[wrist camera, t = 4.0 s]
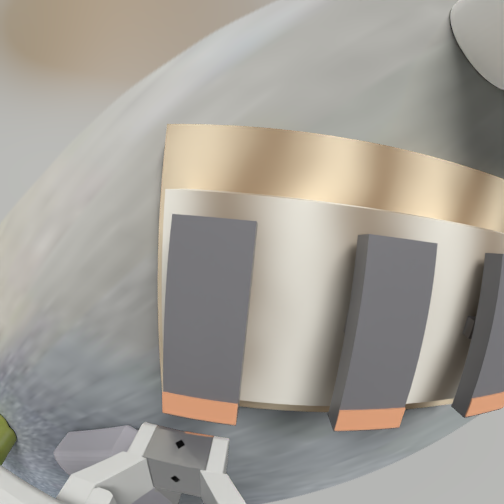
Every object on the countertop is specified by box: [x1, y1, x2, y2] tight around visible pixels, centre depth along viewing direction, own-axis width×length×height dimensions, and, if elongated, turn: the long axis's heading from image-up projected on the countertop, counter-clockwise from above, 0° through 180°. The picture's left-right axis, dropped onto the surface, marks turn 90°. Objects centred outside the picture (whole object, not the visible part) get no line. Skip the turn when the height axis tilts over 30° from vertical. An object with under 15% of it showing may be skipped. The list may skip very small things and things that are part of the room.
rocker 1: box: [162, 214, 258, 426], centre depth 11 cm, size 3×8×2 cm, turn 175°
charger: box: [54, 425, 182, 504], centre depth 20 cm, size 5×9×15 cm
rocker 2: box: [328, 234, 438, 431], centre depth 11 cm, size 3×8×2 cm, turn 175°
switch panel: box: [158, 124, 504, 412], centre depth 15 cm, size 22×17×6 cm
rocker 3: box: [452, 253, 504, 418], centre depth 11 cm, size 3×8×2 cm, turn 175°
